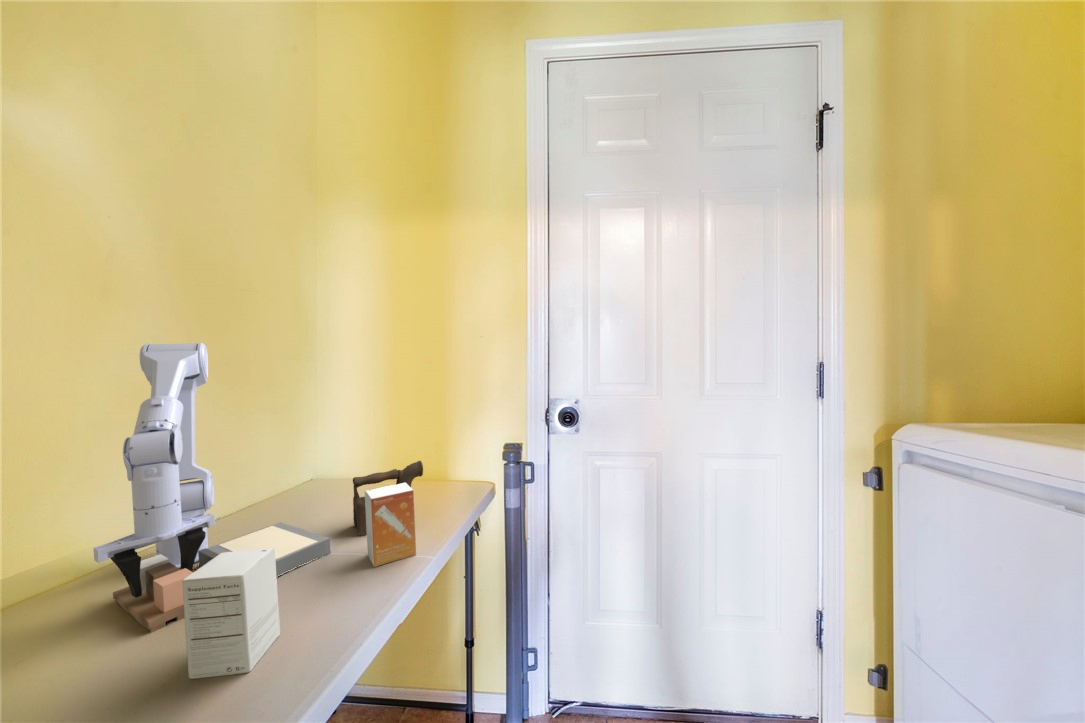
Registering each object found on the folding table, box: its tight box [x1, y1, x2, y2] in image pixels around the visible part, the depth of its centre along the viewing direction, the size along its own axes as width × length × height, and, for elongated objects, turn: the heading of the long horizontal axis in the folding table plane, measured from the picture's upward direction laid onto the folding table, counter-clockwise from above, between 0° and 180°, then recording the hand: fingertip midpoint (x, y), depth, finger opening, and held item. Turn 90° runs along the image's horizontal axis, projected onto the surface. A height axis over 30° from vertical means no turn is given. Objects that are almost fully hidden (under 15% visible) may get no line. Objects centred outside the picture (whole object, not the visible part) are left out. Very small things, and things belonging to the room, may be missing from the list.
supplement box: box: [182, 548, 281, 680], centre depth 54 cm, size 7×7×13 cm
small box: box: [364, 483, 417, 568], centre depth 80 cm, size 8×6×13 cm
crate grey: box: [140, 554, 170, 593], centre depth 70 cm, size 4×4×4 cm
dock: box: [198, 522, 331, 576], centre depth 80 cm, size 19×15×3 cm
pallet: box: [112, 562, 185, 633], centre depth 67 cm, size 17×8×6 cm, turn 59°
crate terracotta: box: [153, 568, 194, 613], centre depth 64 cm, size 4×4×4 cm
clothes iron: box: [352, 460, 424, 537], centre depth 96 cm, size 8×16×13 cm, turn 121°
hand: (162, 585), depth 67 cm, fingers open, 6 cm apart
